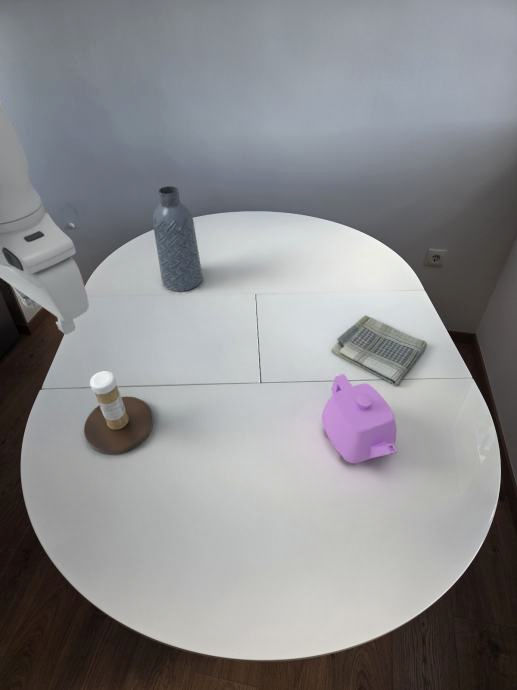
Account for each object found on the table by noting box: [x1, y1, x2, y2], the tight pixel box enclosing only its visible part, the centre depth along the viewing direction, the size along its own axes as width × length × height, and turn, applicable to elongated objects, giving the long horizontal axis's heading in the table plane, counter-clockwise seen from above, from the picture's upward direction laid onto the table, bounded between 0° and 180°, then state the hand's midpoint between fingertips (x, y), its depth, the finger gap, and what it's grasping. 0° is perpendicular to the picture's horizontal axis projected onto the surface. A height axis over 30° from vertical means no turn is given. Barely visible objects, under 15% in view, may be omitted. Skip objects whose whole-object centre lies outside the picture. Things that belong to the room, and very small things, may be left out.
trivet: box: [83, 396, 154, 456], centre depth 91 cm, size 14×14×2 cm
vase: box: [152, 185, 203, 292], centre depth 121 cm, size 12×12×28 cm
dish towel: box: [330, 315, 428, 386], centre depth 107 cm, size 19×18×3 cm
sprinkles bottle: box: [89, 370, 129, 430], centre depth 86 cm, size 5×5×14 cm
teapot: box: [321, 373, 398, 464], centre depth 84 cm, size 20×12×13 cm, turn 22°
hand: (49, 317), depth 63 cm, fingers open, 8 cm apart
